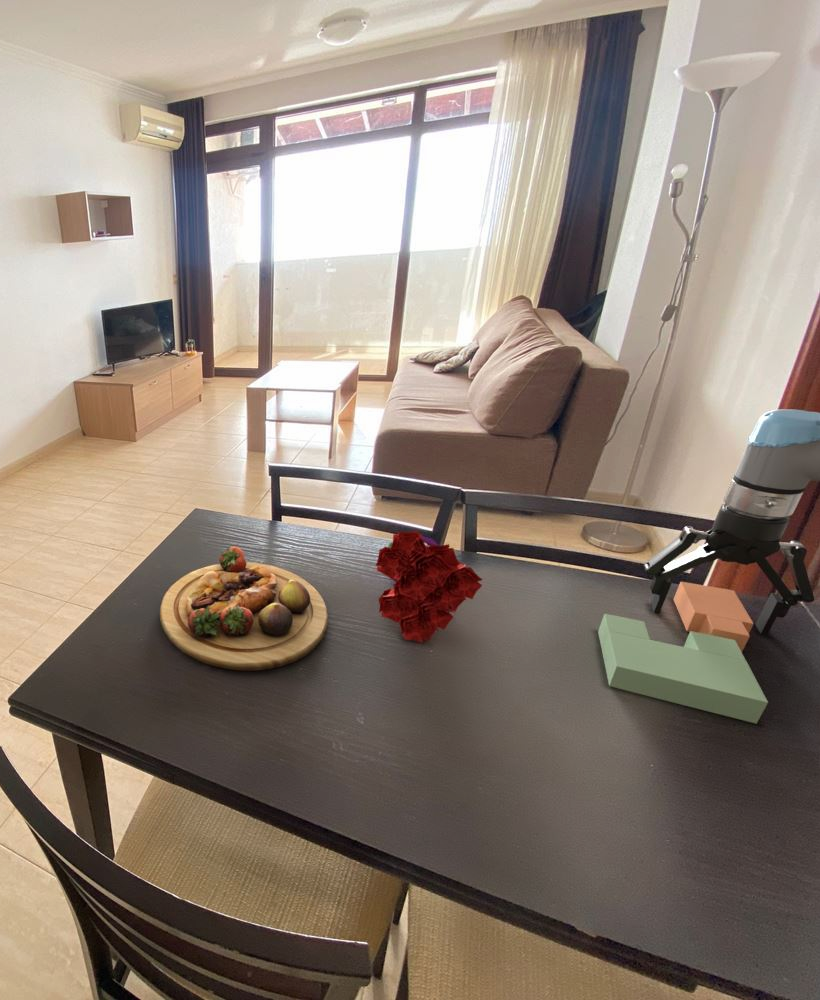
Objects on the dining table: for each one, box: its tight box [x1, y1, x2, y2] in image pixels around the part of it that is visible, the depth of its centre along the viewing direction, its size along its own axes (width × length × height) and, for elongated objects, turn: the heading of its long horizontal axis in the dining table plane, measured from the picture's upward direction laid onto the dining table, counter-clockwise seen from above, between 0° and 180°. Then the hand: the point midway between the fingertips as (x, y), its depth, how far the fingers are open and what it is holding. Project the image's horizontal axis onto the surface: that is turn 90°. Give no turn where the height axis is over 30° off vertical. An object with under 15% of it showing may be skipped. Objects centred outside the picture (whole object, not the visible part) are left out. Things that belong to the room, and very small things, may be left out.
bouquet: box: [375, 530, 483, 643], centre depth 104 cm, size 20×16×30 cm
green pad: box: [597, 613, 769, 725], centre depth 82 cm, size 16×14×4 cm
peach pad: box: [673, 581, 755, 653], centre depth 91 cm, size 7×14×4 cm, turn 149°
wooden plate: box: [159, 546, 329, 671], centre depth 103 cm, size 32×32×8 cm
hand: (706, 619), depth 93 cm, fingers open, 13 cm apart
